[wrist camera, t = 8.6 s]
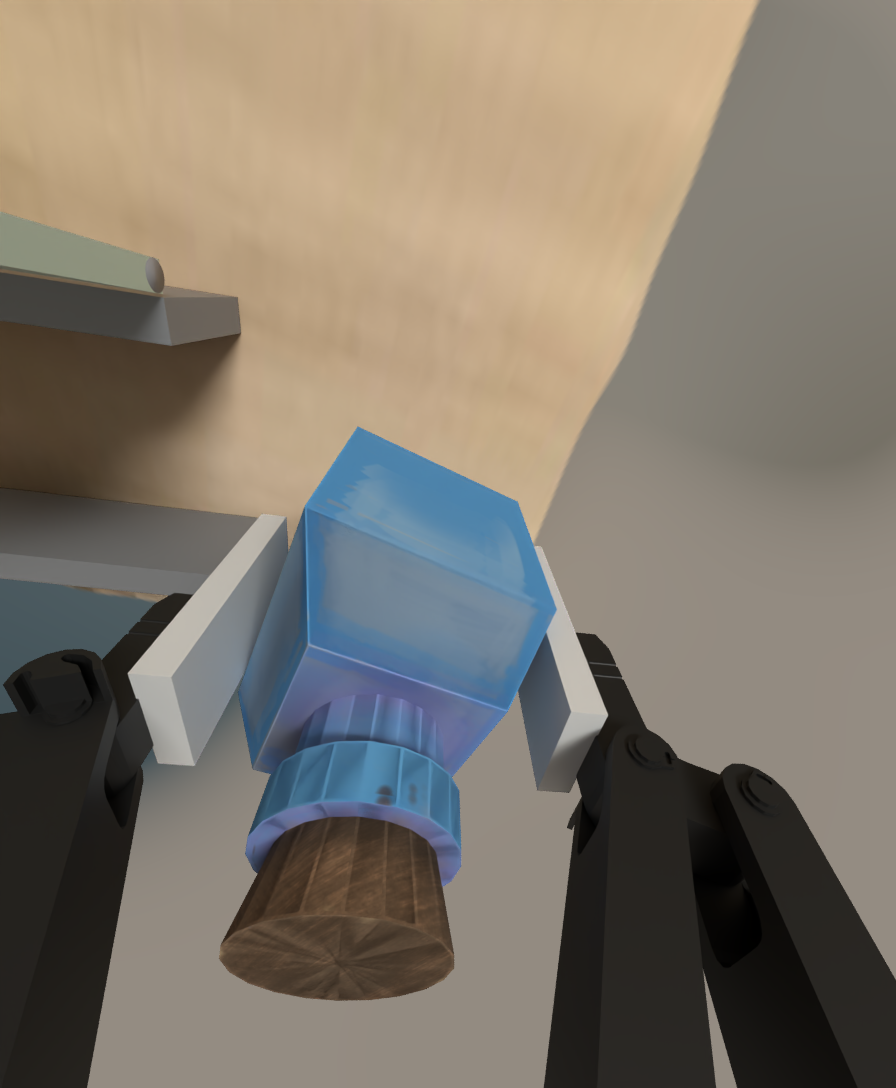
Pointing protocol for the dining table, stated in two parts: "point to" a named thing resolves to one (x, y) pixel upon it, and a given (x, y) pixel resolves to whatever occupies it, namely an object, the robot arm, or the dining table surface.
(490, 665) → the perfume bottle
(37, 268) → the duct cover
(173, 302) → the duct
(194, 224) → the dining table surface
